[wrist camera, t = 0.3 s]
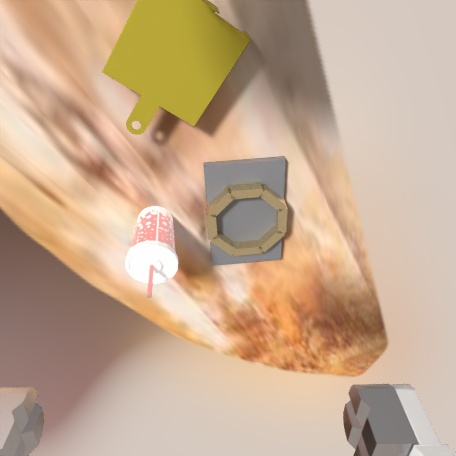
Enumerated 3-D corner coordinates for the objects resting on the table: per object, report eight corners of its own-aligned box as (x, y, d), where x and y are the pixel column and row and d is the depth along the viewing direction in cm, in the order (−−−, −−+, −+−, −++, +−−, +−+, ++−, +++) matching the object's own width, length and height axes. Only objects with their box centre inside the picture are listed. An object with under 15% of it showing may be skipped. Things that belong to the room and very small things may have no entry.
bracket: (51, 107, 38) (124, -57, 31) (69, 81, 44) (133, -61, 38) (195, 183, 44) (282, 60, 38) (193, 151, 51) (267, 40, 44)
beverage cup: (128, 233, 56) (115, 311, 45) (137, 196, 53) (125, 270, 42) (172, 242, 58) (170, 319, 47) (183, 206, 55) (184, 280, 43)
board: (203, 162, 51) (203, 166, 50) (284, 156, 51) (285, 160, 51) (211, 261, 61) (212, 265, 60) (279, 254, 61) (280, 259, 60)
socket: (203, 186, 52) (204, 193, 51) (286, 179, 52) (288, 186, 51) (209, 250, 58) (210, 258, 57) (283, 244, 59) (285, 251, 57)
